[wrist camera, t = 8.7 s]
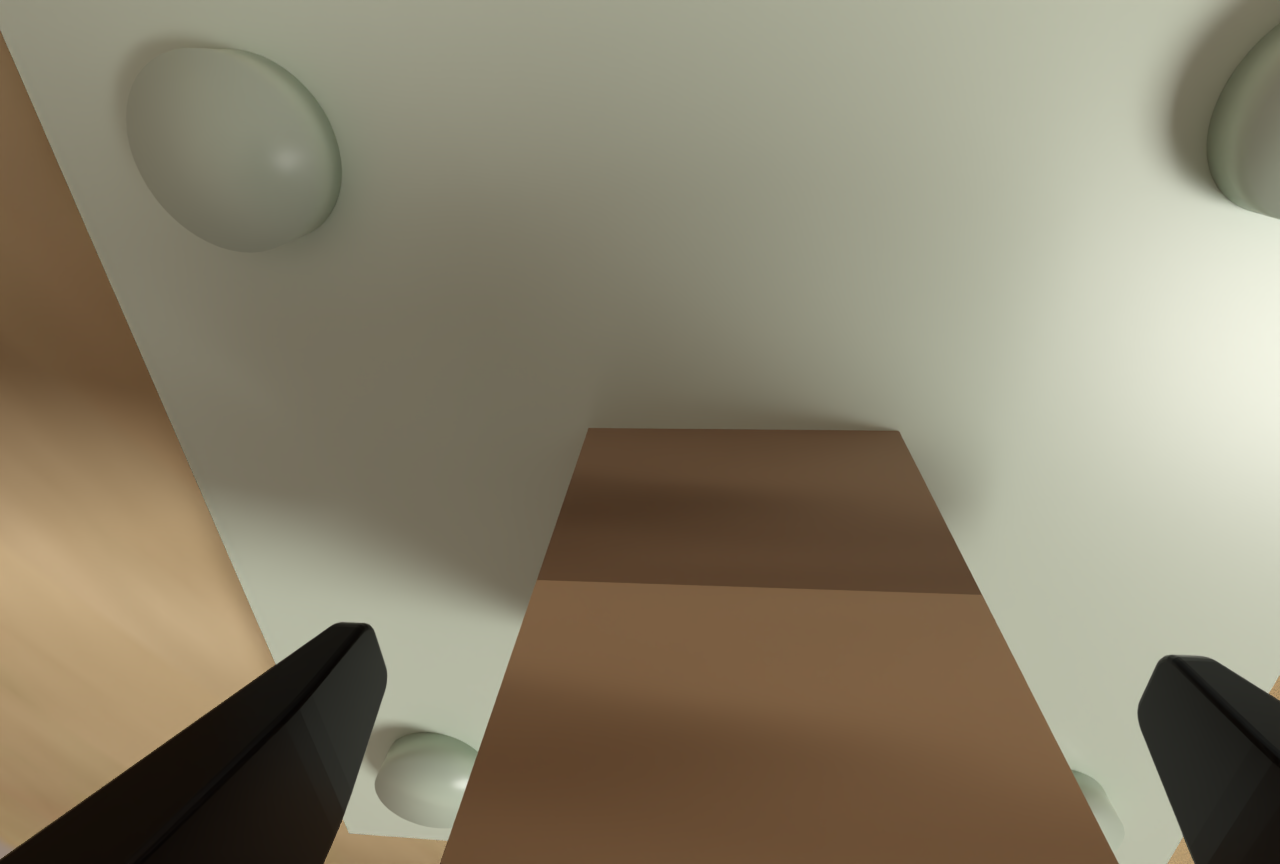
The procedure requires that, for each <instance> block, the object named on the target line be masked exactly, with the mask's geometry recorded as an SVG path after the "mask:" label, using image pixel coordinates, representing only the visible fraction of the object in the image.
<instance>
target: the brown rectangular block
mask: <svg viewBox="0 0 1280 864" xmlns="http://www.w3.org/2000/svg"><path fill="white" fill-rule="evenodd" d="M440 864H1119V863H1118V861H1117V859H1116V857H1115V855H1114V853H1113V851H1112V849H1111V848H1110V846H1109V844H1108V842H1107V840H1106V838H1105V836H1104V834H1103V832H1102V830H1101V828H1100V826H1099V824H1098V822H1097V820H1096V818H1095V816H1094V814H1093V812H1092V810H1091V808H1090V806H1089V804H1088V802H1087V800H1086V798H1085V796H1084V794H1083V792H1082V790H1081V788H1080V786H1079V785H1078V783H1077V781H1076V779H1075V777H1074V775H1073V773H1072V771H1071V769H1070V767H1069V765H1068V763H1067V761H1066V759H1065V757H1064V755H1063V753H1062V751H1061V749H1060V747H1059V745H1058V743H1057V741H1056V739H1055V737H1054V735H1053V733H1052V731H1051V729H1050V727H1049V725H1048V723H1047V721H1046V720H1045V718H1044V716H1043V714H1042V712H1041V710H1040V708H1039V706H1038V704H1037V702H1036V700H1035V698H1034V696H1033V694H1032V692H1031V690H1030V688H1029V686H1028V684H1027V682H1026V680H1025V678H1024V676H1023V674H1022V672H1021V670H1020V668H1019V666H1018V664H1017V662H1016V660H1015V658H1014V657H1013V655H1012V653H1011V651H1010V649H1009V647H1008V645H1007V643H1006V641H1005V639H1004V637H1003V635H1002V633H1001V631H1000V629H999V627H998V625H997V623H996V621H995V619H994V617H993V615H992V613H991V611H990V609H989V607H988V605H987V603H986V601H985V599H984V597H983V595H982V594H981V592H980V590H979V588H978V586H977V584H976V582H975V580H974V578H973V576H972V574H971V572H970V570H969V568H968V566H967V564H966V562H965V560H964V558H963V556H962V554H961V552H960V550H959V548H958V546H957V544H956V542H955V540H954V538H953V536H952V534H951V532H950V531H949V529H948V527H947V525H946V523H945V521H944V519H943V517H942V515H941V513H940V511H939V509H938V507H937V505H936V503H935V501H934V499H933V497H932V495H931V493H930V491H929V489H928V487H927V485H926V483H925V481H924V479H923V477H922V475H921V473H920V471H919V469H918V467H917V466H916V464H915V462H914V460H913V458H912V456H911V454H910V452H909V450H908V448H907V446H906V444H905V442H904V440H903V438H902V436H901V434H900V432H899V431H866V430H757V429H649V428H588V431H587V434H586V437H585V440H584V443H583V446H582V449H581V451H580V454H579V457H578V460H577V463H576V466H575V469H574V472H573V475H572V478H571V481H570V484H569V487H568V490H567V493H566V495H565V498H564V501H563V504H562V507H561V510H560V513H559V516H558V519H557V522H556V525H555V528H554V531H553V534H552V537H551V539H550V542H549V545H548V548H547V551H546V554H545V557H544V560H543V563H542V566H541V569H540V572H539V575H538V578H537V581H536V583H535V586H534V589H533V592H532V595H531V598H530V601H529V604H528V607H527V610H526V613H525V616H524V619H523V622H522V625H521V628H520V630H519V633H518V636H517V639H516V642H515V645H514V648H513V651H512V654H511V657H510V660H509V663H508V666H507V669H506V672H505V674H504V677H503V680H502V683H501V686H500V689H499V692H498V695H497V698H496V701H495V704H494V707H493V710H492V713H491V716H490V718H489V721H488V724H487V727H486V730H485V733H484V736H483V739H482V742H481V745H480V748H479V751H478V754H477V757H476V760H475V762H474V765H473V768H472V771H471V774H470V777H469V780H468V783H467V786H466V789H465V792H464V795H463V798H462V801H461V804H460V806H459V809H458V812H457V815H456V818H455V821H454V824H453V827H452V830H451V833H450V836H449V839H448V842H447V845H446V848H445V851H444V853H443V856H442V859H441V862H440Z"/></svg>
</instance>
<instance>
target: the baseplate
mask: <svg viewBox="0 0 1280 864" xmlns="http://www.w3.org/2000/svg"><path fill="white" fill-rule="evenodd" d="M0 31H1V33H2V35H3V37H4V40H5V42H6V44H7V47H8V49H9V51H10V54H11V56H12V58H13V60H14V63H15V65H16V67H17V70H18V72H19V74H20V77H21V79H22V81H23V84H24V86H25V88H26V90H27V93H28V95H29V97H30V100H31V102H32V104H33V107H34V109H35V111H36V113H37V116H38V118H39V120H40V123H41V125H42V127H43V130H44V132H45V134H46V136H47V139H48V141H49V143H50V146H51V148H52V150H53V153H54V155H55V157H56V160H57V162H58V164H59V166H60V169H61V171H62V173H63V176H64V178H65V180H66V183H67V185H68V187H69V189H70V192H71V194H72V196H73V199H74V201H75V203H76V206H77V208H78V210H79V212H80V215H81V217H82V219H83V222H84V224H85V226H86V229H87V231H88V233H89V235H90V238H91V240H92V242H93V245H94V247H95V249H96V252H97V254H98V256H99V259H100V261H101V263H102V265H103V268H104V270H105V272H106V275H107V277H108V279H109V282H110V284H111V286H112V288H113V291H114V293H115V295H116V298H117V300H118V302H119V305H120V307H121V309H122V311H123V314H124V316H125V318H126V321H127V323H128V325H129V328H130V330H131V332H132V335H133V337H134V339H135V341H136V344H137V346H138V348H139V351H140V353H141V355H142V358H143V360H144V362H145V364H146V367H147V369H148V371H149V374H150V376H151V378H152V381H153V383H154V385H155V387H156V390H157V392H158V394H159V397H160V399H161V401H162V404H163V406H164V408H165V410H166V413H167V415H168V417H169V420H170V422H171V424H172V427H173V429H174V431H175V434H176V436H177V438H178V440H179V443H180V445H181V447H182V450H183V452H184V454H185V457H186V459H187V461H188V463H189V466H190V468H191V470H192V473H193V475H194V477H195V480H196V482H197V484H198V486H199V489H200V491H201V493H202V496H203V498H204V500H205V503H206V505H207V507H208V509H209V512H210V514H211V516H212V519H213V521H214V523H215V526H216V528H217V530H218V533H219V535H220V537H221V539H222V542H223V544H224V546H225V549H226V551H227V553H228V556H229V558H230V560H231V562H232V565H233V567H234V569H235V572H236V574H237V576H238V579H239V581H240V583H241V585H242V588H243V590H244V592H245V595H246V597H247V599H248V602H249V604H250V606H251V609H252V611H253V613H254V615H255V618H256V620H257V622H258V625H259V627H260V629H261V632H262V634H263V636H264V638H265V641H266V643H267V645H268V648H269V650H270V652H271V655H272V657H273V659H274V661H275V664H277V663H279V662H280V661H282V660H283V659H284V658H286V657H287V656H289V655H290V654H291V653H293V652H294V651H296V650H297V649H299V648H300V647H301V646H303V645H304V644H306V643H307V642H308V641H310V640H311V639H313V638H314V637H316V636H317V635H318V634H320V633H321V632H323V631H324V630H325V629H327V628H328V627H330V626H331V625H333V624H335V623H339V622H356V623H367V624H369V625H371V626H372V627H373V629H374V631H375V634H376V637H377V640H378V643H379V646H380V649H381V652H382V655H383V658H384V661H385V665H386V668H387V685H386V690H385V693H384V696H383V699H382V702H381V705H380V708H379V712H378V715H377V718H376V721H375V724H374V727H373V730H372V733H371V736H370V739H369V742H368V745H367V749H366V752H365V755H364V758H363V761H362V764H361V767H360V770H359V773H358V776H357V779H356V782H355V786H354V789H353V792H352V795H351V797H350V800H349V803H348V806H347V809H346V812H345V814H344V817H343V820H344V823H345V825H346V827H347V830H348V832H349V833H351V834H364V835H378V836H391V837H405V838H418V839H431V840H445V841H448V839H449V836H450V833H451V830H452V827H453V824H454V821H455V818H456V815H457V812H458V809H459V806H460V804H461V801H462V798H463V795H464V792H465V789H466V786H467V783H468V780H469V777H470V774H471V771H472V768H473V765H474V762H475V760H476V757H477V754H478V751H479V748H480V745H481V742H482V739H483V736H484V733H485V730H486V727H487V724H488V721H489V718H490V716H491V713H492V710H493V707H494V704H495V701H496V698H497V695H498V692H499V689H500V686H501V683H502V680H503V677H504V674H505V672H506V669H507V666H508V663H509V660H510V657H511V654H512V651H513V648H514V645H515V642H516V639H517V636H518V633H519V630H520V628H521V625H522V622H523V619H524V616H525V613H526V610H527V607H528V604H529V601H530V598H531V595H532V592H533V589H534V586H535V583H536V581H537V578H538V575H539V572H540V569H541V566H542V563H543V560H544V557H545V554H546V551H547V548H548V545H549V542H550V539H551V537H552V534H553V531H554V528H555V525H556V522H557V519H558V516H559V513H560V510H561V507H562V504H563V501H564V498H565V495H566V493H567V490H568V487H569V484H570V481H571V478H572V475H573V472H574V469H575V466H576V463H577V460H578V457H579V454H580V451H581V449H582V446H583V443H584V440H585V437H586V434H587V431H588V428H649V429H757V430H866V431H899V432H900V434H901V436H902V438H903V440H904V442H905V444H906V446H907V448H908V450H909V452H910V454H911V456H912V458H913V460H914V462H915V464H916V466H917V467H918V469H919V471H920V473H921V475H922V477H923V479H924V481H925V483H926V485H927V487H928V489H929V491H930V493H931V495H932V497H933V499H934V501H935V503H936V505H937V507H938V509H939V511H940V513H941V515H942V517H943V519H944V521H945V523H946V525H947V527H948V529H949V531H950V532H951V534H952V536H953V538H954V540H955V542H956V544H957V546H958V548H959V550H960V552H961V554H962V556H963V558H964V560H965V562H966V564H967V566H968V568H969V570H970V572H971V574H972V576H973V578H974V580H975V582H976V584H977V586H978V588H979V590H980V592H981V594H982V595H983V597H984V599H985V601H986V603H987V605H988V607H989V609H990V611H991V613H992V615H993V617H994V619H995V621H996V623H997V625H998V627H999V629H1000V631H1001V633H1002V635H1003V637H1004V639H1005V641H1006V643H1007V645H1008V647H1009V649H1010V651H1011V653H1012V655H1013V657H1014V658H1015V660H1016V662H1017V664H1018V666H1019V668H1020V670H1021V672H1022V674H1023V676H1024V678H1025V680H1026V682H1027V684H1028V686H1029V688H1030V690H1031V692H1032V694H1033V696H1034V698H1035V700H1036V702H1037V704H1038V706H1039V708H1040V710H1041V712H1042V714H1043V716H1044V718H1045V720H1046V721H1047V723H1048V725H1049V727H1050V729H1051V731H1052V733H1053V735H1054V737H1055V739H1056V741H1057V743H1058V745H1059V747H1060V749H1061V751H1062V753H1063V755H1064V757H1065V759H1066V761H1067V763H1068V765H1069V767H1070V769H1071V771H1072V773H1073V775H1074V777H1075V779H1076V781H1077V783H1078V785H1079V786H1080V788H1081V790H1082V792H1083V794H1084V796H1085V798H1086V800H1087V802H1088V804H1089V806H1090V808H1091V810H1092V812H1093V814H1094V816H1095V818H1096V820H1097V822H1098V824H1099V826H1100V828H1101V830H1102V832H1103V834H1104V836H1105V838H1106V840H1107V842H1108V844H1109V846H1110V848H1111V849H1112V851H1113V853H1114V855H1115V857H1116V859H1117V861H1118V863H1119V864H1167V863H1168V861H1169V860H1170V858H1171V856H1172V855H1173V853H1174V851H1175V850H1176V848H1177V846H1178V844H1179V843H1180V841H1181V839H1182V838H1183V834H1182V832H1181V829H1180V827H1179V824H1178V822H1177V819H1176V817H1175V814H1174V812H1173V809H1172V807H1171V804H1170V802H1169V799H1168V797H1167V795H1166V792H1165V790H1164V787H1163V785H1162V782H1161V780H1160V777H1159V775H1158V772H1157V770H1156V767H1155V765H1154V762H1153V760H1152V757H1151V755H1150V752H1149V750H1148V747H1147V745H1146V742H1145V740H1144V737H1143V735H1142V732H1141V729H1140V726H1139V722H1138V716H1137V710H1138V704H1139V701H1140V699H1141V696H1142V694H1143V692H1144V690H1145V688H1146V686H1147V683H1148V681H1149V679H1150V677H1151V675H1152V673H1153V670H1154V668H1155V666H1156V664H1157V662H1158V661H1159V660H1160V659H1161V658H1162V657H1164V656H1165V655H1170V654H1171V655H1197V656H1205V657H1209V658H1212V659H1214V660H1216V661H1217V662H1219V663H1221V664H1222V665H1224V666H1226V667H1227V668H1229V669H1230V670H1232V671H1233V672H1235V673H1237V674H1238V675H1240V676H1241V677H1243V678H1245V679H1246V680H1248V681H1249V682H1251V683H1252V684H1254V685H1256V686H1257V687H1259V688H1260V689H1262V690H1264V691H1265V692H1267V693H1268V694H1269V692H1270V690H1271V689H1272V687H1273V685H1274V684H1275V682H1276V680H1277V679H1278V677H1279V675H1280V0H0Z"/></svg>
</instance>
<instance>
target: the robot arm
mask: <svg viewBox="0 0 1280 864" xmlns="http://www.w3.org/2000/svg"><path fill="white" fill-rule="evenodd" d="M386 685H387V668H386V665H385V661H384V658H383V655H382V652H381V649H380V646H379V643H378V640H377V637H376V634H375V631H374V629H373V627H372V626H371V625H369V624H367V623H356V622H339V623H335V624H333V625H331V626H330V627H328V628H327V629H325V630H324V631H323V632H321V633H320V634H318V635H317V636H316V637H314V638H313V639H311V640H310V641H308V642H307V643H306V644H304V645H303V646H301V647H300V648H299V649H297V650H296V651H294V652H293V653H291V654H290V655H289V656H287V657H286V658H284V659H283V660H282V661H280V662H279V663H277V664H276V665H275V666H273V667H272V668H270V669H269V670H267V671H266V672H265V673H263V674H262V675H260V676H259V677H258V678H256V679H255V680H253V681H252V682H250V683H249V684H248V685H246V686H245V687H243V688H242V689H241V690H239V691H238V692H236V693H235V694H233V695H232V696H231V697H229V698H228V699H226V700H225V701H224V702H222V703H221V704H219V705H218V706H217V707H215V708H214V709H212V710H211V711H209V712H208V713H207V714H205V715H204V716H202V717H201V718H200V719H198V720H197V721H195V722H194V723H192V724H191V725H190V726H188V727H187V728H185V729H184V730H183V731H181V732H180V733H178V734H177V735H175V736H174V737H173V738H171V739H170V740H168V741H167V742H166V743H164V744H163V745H161V746H160V747H159V748H157V749H156V750H154V751H153V752H151V753H150V754H149V755H147V756H146V757H144V758H143V759H142V760H140V761H139V762H137V763H136V764H134V765H133V766H132V767H130V768H129V769H127V770H126V771H125V772H123V773H122V774H120V775H119V776H117V777H116V778H115V779H113V780H112V781H110V782H109V783H108V784H106V785H105V786H103V787H102V788H101V789H99V790H98V791H96V792H95V793H93V794H92V795H91V796H89V797H88V798H86V799H85V800H84V801H82V802H81V803H79V804H78V805H76V806H75V807H74V808H72V809H71V810H69V811H68V812H67V813H65V814H64V815H62V816H61V817H59V818H58V819H57V820H55V821H54V822H52V823H51V824H50V825H48V826H47V827H45V828H44V829H42V830H41V831H40V832H38V833H37V834H35V835H34V836H33V837H31V838H30V839H28V840H27V841H25V842H24V843H23V844H21V845H20V846H18V847H17V848H16V849H14V850H13V851H11V852H10V853H8V854H7V855H6V856H4V857H3V858H1V859H0V864H324V861H325V859H326V857H327V855H328V852H329V850H330V848H331V845H332V843H333V841H334V839H335V836H336V834H337V831H338V829H339V827H340V824H341V822H342V819H343V817H344V814H345V812H346V809H347V806H348V803H349V800H350V797H351V795H352V792H353V789H354V786H355V782H356V779H357V776H358V773H359V770H360V767H361V764H362V761H363V758H364V755H365V752H366V749H367V745H368V742H369V739H370V736H371V733H372V730H373V727H374V724H375V721H376V718H377V715H378V712H379V708H380V705H381V702H382V699H383V696H384V693H385V690H386ZM1137 716H1138V722H1139V726H1140V729H1141V732H1142V735H1143V737H1144V740H1145V742H1146V745H1147V747H1148V750H1149V752H1150V755H1151V757H1152V760H1153V762H1154V765H1155V767H1156V770H1157V772H1158V775H1159V777H1160V780H1161V782H1162V785H1163V787H1164V790H1165V792H1166V795H1167V797H1168V799H1169V802H1170V804H1171V807H1172V809H1173V812H1174V814H1175V817H1176V819H1177V822H1178V824H1179V827H1180V829H1181V832H1182V834H1183V837H1184V839H1185V842H1186V844H1187V847H1188V849H1189V852H1190V854H1191V856H1192V859H1193V861H1194V863H1195V864H1280V701H1279V700H1278V699H1276V698H1275V697H1273V696H1272V695H1270V694H1268V693H1267V692H1265V691H1264V690H1262V689H1260V688H1259V687H1257V686H1256V685H1254V684H1252V683H1251V682H1249V681H1248V680H1246V679H1245V678H1243V677H1241V676H1240V675H1238V674H1237V673H1235V672H1233V671H1232V670H1230V669H1229V668H1227V667H1226V666H1224V665H1222V664H1221V663H1219V662H1217V661H1216V660H1214V659H1212V658H1209V657H1205V656H1197V655H1171V654H1170V655H1165V656H1164V657H1162V658H1161V659H1160V660H1159V661H1158V662H1157V664H1156V666H1155V668H1154V670H1153V673H1152V675H1151V677H1150V679H1149V681H1148V683H1147V686H1146V688H1145V690H1144V692H1143V694H1142V696H1141V699H1140V701H1139V704H1138V710H1137Z"/></svg>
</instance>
